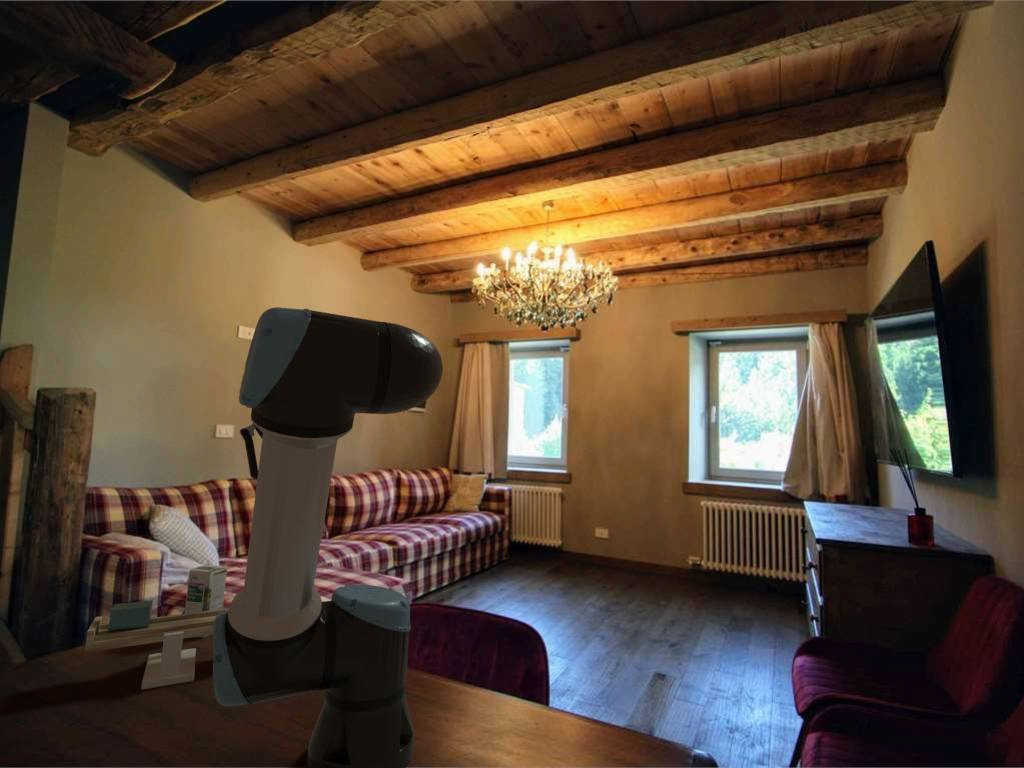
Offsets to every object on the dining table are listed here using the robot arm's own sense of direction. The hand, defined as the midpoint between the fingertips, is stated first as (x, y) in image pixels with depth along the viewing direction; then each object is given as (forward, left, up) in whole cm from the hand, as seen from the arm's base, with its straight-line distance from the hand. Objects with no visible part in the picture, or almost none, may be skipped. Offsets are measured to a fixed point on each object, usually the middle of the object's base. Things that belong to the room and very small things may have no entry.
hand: (268, 515), depth 99 cm
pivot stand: (+11, +13, -30) cm, 35 cm away
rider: (+11, +21, -22) cm, 32 cm away
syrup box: (+30, +8, -31) cm, 44 cm away
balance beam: (+11, +13, -26) cm, 32 cm away
